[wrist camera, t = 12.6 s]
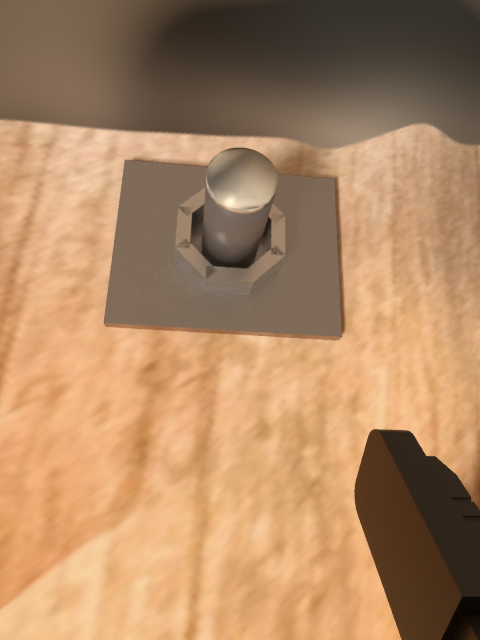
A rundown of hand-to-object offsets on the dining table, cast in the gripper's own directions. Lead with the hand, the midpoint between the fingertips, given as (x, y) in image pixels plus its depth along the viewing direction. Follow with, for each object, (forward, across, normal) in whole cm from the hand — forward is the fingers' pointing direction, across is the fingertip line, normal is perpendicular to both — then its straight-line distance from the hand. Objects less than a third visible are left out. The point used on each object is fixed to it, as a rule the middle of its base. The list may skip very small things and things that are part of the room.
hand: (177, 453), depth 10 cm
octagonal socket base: (+33, -3, +6) cm, 34 cm away
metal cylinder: (+32, -3, +5) cm, 33 cm away
